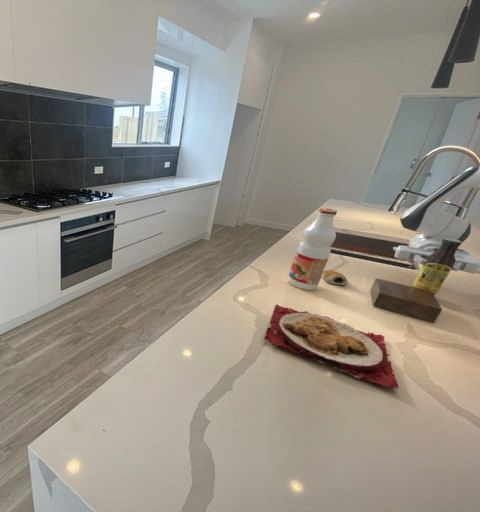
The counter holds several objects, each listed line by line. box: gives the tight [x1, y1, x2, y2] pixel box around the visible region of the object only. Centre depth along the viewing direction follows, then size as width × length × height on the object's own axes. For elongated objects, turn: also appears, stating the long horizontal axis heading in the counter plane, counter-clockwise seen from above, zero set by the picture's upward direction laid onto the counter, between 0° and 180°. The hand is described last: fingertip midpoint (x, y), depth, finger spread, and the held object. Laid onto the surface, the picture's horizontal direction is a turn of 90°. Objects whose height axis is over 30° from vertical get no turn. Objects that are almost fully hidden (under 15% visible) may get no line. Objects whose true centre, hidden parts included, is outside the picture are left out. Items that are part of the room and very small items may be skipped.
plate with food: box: [263, 304, 400, 389], centre depth 78 cm, size 24×26×3 cm
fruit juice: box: [287, 207, 338, 291], centre depth 103 cm, size 9×9×28 cm
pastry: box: [322, 269, 349, 286], centre depth 113 cm, size 9×7×4 cm
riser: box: [369, 277, 443, 324], centre depth 97 cm, size 14×14×5 cm
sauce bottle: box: [411, 238, 463, 296], centre depth 100 cm, size 7×6×20 cm
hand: (439, 265), depth 99 cm, fingers closed on sauce bottle, 6 cm apart
